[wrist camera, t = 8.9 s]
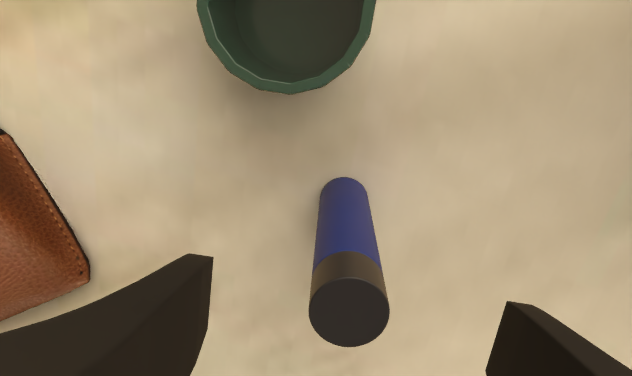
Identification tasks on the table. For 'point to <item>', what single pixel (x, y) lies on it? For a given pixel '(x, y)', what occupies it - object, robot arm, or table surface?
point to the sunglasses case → (33, 239)
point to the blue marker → (347, 269)
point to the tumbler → (286, 39)
